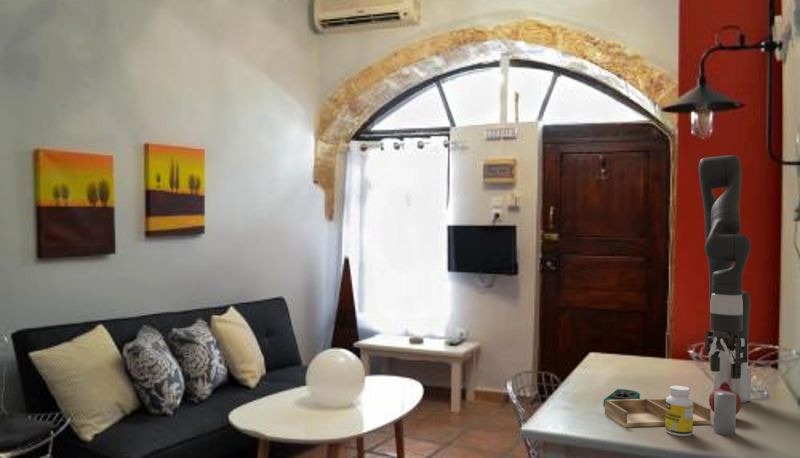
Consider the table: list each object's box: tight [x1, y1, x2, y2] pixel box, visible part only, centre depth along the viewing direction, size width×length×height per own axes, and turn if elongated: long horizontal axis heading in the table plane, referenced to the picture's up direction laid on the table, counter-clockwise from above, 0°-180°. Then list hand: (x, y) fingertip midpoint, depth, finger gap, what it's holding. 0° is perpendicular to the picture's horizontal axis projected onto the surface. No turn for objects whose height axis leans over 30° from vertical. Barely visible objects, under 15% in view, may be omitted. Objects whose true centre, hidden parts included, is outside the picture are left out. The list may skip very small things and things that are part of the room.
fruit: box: [708, 382, 742, 415], centre depth 187 cm, size 8×8×10 cm
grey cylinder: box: [713, 391, 737, 437], centre depth 174 cm, size 5×5×10 cm
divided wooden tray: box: [604, 397, 712, 428], centre depth 185 cm, size 24×12×4 cm, turn 98°
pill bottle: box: [665, 385, 694, 437], centre depth 173 cm, size 6×6×12 cm
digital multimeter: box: [603, 388, 641, 407], centre depth 202 cm, size 7×15×3 cm, turn 148°
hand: (725, 374), depth 173 cm, fingers open, 8 cm apart
